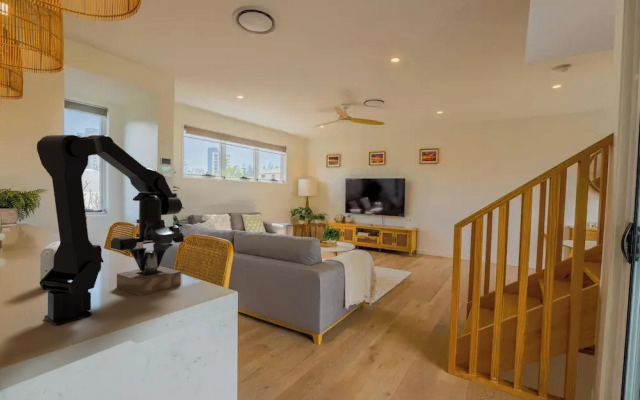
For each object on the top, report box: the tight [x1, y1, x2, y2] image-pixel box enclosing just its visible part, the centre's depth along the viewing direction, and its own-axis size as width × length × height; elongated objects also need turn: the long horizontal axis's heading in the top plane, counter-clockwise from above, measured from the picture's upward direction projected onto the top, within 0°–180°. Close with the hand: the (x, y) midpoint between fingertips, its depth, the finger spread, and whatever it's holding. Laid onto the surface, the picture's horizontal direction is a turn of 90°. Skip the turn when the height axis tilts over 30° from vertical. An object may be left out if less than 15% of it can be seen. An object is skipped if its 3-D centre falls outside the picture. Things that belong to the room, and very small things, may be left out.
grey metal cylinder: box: [142, 250, 158, 276], centre depth 89 cm, size 4×4×8 cm
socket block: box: [116, 265, 182, 297], centre depth 89 cm, size 12×12×4 cm
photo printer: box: [39, 240, 60, 288], centre depth 89 cm, size 10×4×12 cm, turn 17°
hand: (149, 269), depth 89 cm, fingers closed on grey metal cylinder, 4 cm apart
